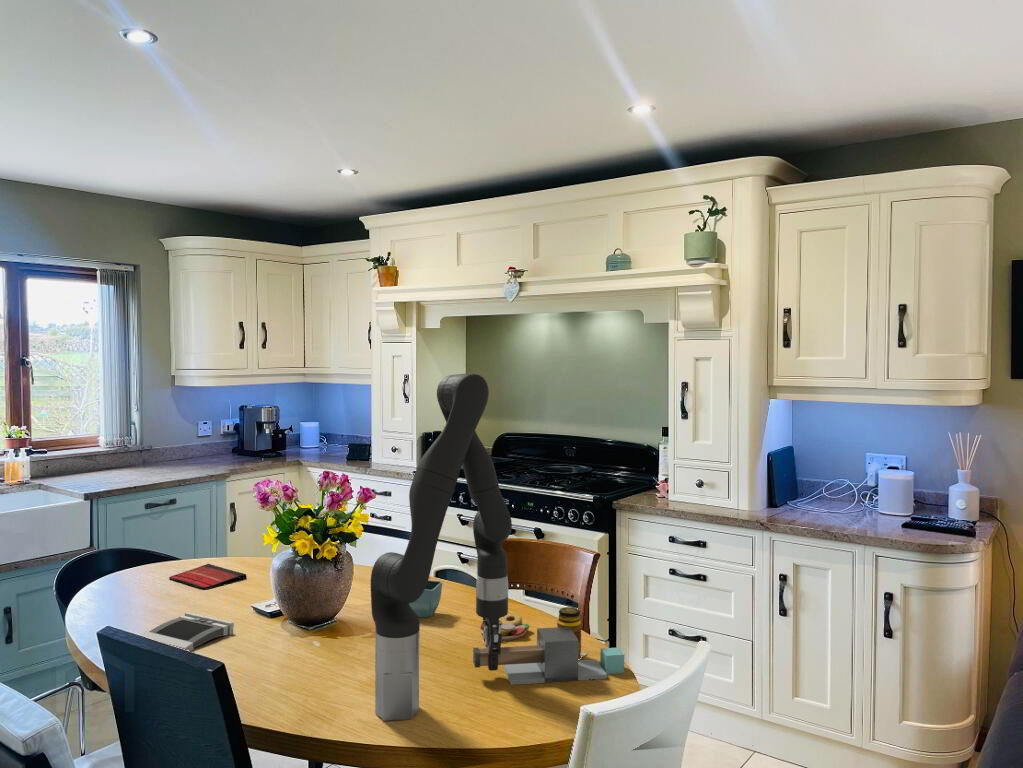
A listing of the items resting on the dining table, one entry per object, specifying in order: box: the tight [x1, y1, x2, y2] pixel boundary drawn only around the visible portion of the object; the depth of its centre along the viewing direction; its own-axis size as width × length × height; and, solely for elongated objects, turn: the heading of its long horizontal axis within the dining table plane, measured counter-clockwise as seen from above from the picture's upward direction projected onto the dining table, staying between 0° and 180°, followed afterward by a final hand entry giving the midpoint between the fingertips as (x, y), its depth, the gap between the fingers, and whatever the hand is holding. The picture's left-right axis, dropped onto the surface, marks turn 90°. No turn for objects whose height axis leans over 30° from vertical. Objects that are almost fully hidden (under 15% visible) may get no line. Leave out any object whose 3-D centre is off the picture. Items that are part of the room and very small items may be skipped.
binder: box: [169, 563, 247, 590], centre depth 255 cm, size 16×2×21 cm
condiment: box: [556, 606, 587, 659], centre depth 193 cm, size 7×8×12 cm
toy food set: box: [479, 613, 530, 641], centre depth 209 cm, size 13×13×3 cm
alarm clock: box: [140, 612, 235, 652], centre depth 202 cm, size 17×5×16 cm
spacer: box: [599, 647, 625, 675], centre depth 185 cm, size 4×4×4 cm
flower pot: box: [409, 579, 443, 619], centre depth 222 cm, size 9×9×9 cm
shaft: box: [472, 644, 543, 669], centre depth 181 cm, size 3×23×3 cm, turn 100°
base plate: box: [503, 659, 608, 686], centre depth 182 cm, size 9×23×1 cm, turn 100°
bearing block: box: [536, 626, 579, 684], centre depth 182 cm, size 9×8×10 cm
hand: (491, 666), depth 180 cm, fingers closed on shaft, 3 cm apart
